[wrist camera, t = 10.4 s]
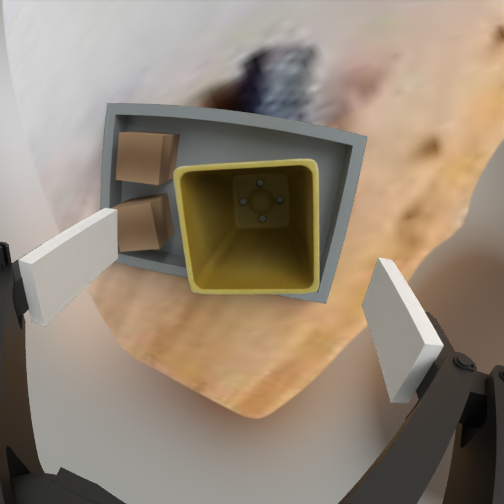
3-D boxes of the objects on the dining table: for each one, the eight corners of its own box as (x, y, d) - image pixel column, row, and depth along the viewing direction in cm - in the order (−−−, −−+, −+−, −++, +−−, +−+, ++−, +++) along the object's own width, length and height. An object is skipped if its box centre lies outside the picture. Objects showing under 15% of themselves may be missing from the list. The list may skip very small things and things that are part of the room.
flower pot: (216, 248, 30) (189, 295, 22) (206, 155, 27) (170, 167, 18) (310, 246, 29) (319, 294, 20) (308, 149, 26) (318, 158, 17)
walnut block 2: (130, 198, 29) (110, 208, 25) (167, 193, 28) (150, 202, 25) (138, 237, 30) (120, 251, 27) (174, 233, 30) (159, 248, 26)
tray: (123, 104, 26) (107, 103, 23) (359, 135, 25) (367, 136, 22) (115, 248, 32) (101, 259, 29) (322, 288, 31) (325, 303, 28)
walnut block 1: (139, 130, 26) (119, 132, 23) (179, 134, 26) (163, 135, 23) (136, 172, 28) (115, 179, 24) (174, 177, 28) (158, 185, 24)
